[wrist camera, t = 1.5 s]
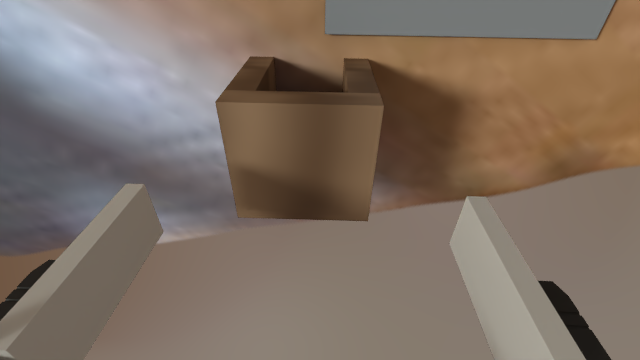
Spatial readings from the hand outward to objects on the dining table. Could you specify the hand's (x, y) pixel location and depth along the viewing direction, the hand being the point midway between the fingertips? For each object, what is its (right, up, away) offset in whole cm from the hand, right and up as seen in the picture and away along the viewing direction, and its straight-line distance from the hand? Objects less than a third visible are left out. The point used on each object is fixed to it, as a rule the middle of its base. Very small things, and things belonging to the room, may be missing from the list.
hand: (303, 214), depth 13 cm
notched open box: (0, +6, +9) cm, 11 cm away
